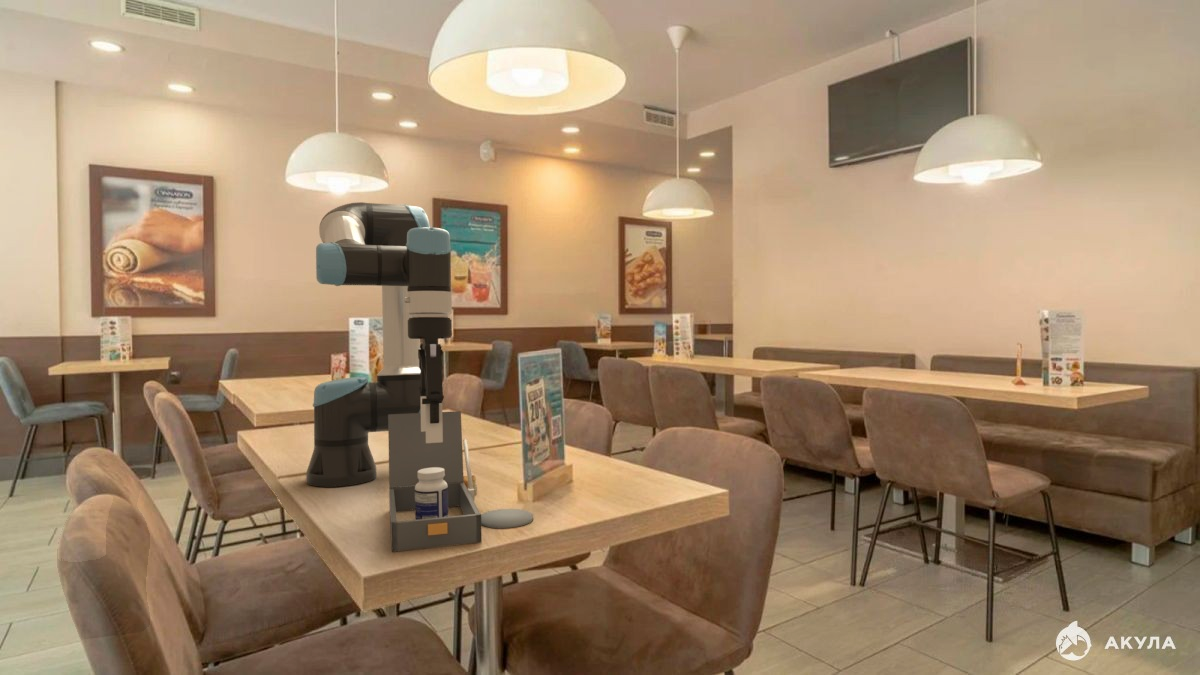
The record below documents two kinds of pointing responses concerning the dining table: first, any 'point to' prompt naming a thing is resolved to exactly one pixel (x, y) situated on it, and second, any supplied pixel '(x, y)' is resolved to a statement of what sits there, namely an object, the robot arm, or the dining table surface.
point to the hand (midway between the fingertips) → (431, 436)
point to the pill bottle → (431, 494)
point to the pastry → (473, 483)
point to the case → (403, 466)
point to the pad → (506, 518)
